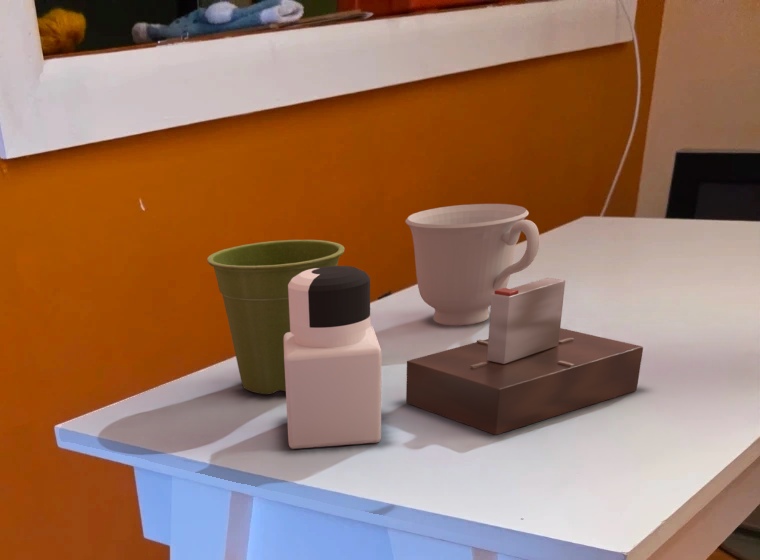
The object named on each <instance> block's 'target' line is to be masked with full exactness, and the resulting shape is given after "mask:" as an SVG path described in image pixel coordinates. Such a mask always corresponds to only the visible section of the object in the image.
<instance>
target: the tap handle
mask: <svg viewBox="0 0 760 560" xmlns="http://www.w3.org/2000/svg"><path fill="white" fill-rule="evenodd" d="M565 287H566V280H565V279H560V278H554V277H553V278H552V277H545V278H541V279H538V280H535V281H532V282H528V283H525V284H521V285H519V286H514V287H511V288H507V287H506V288H502V289H499V290H495V293H494V294H492V295H491V305H490V307H489V308H490V309H489V324H488V338H487V339H488V353H487V360H488V361H492V362H497V363H501V364H506V363H509V362H512V361H514V360H517V359H520V358H523V357H526V356H529V355H532V354H535V353H538V352H541V351H544V350H546V349H549V348H552V347H555V346H558V345H559V335H560V328H561V325H562V315H563V307H564V298H565V297H564V296H565Z"/></svg>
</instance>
